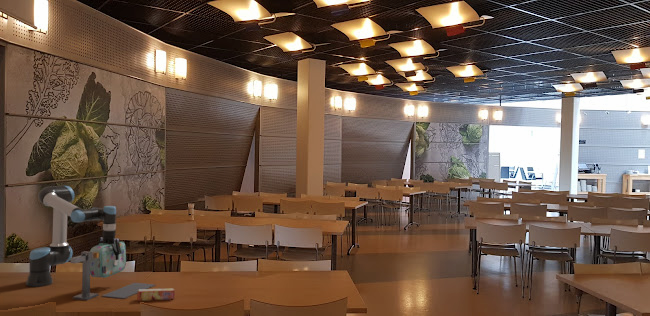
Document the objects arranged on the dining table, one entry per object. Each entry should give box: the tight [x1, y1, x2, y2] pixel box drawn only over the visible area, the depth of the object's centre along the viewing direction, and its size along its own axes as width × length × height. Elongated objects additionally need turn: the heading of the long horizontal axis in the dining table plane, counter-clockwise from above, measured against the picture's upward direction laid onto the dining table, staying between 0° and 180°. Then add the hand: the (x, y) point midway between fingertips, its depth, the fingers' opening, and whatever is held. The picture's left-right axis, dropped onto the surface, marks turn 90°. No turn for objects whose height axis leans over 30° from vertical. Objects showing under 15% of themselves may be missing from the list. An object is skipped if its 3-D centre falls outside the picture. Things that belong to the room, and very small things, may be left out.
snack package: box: [136, 288, 176, 302], centre depth 289 cm, size 21×7×7 cm, turn 104°
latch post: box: [72, 250, 100, 301], centre depth 290 cm, size 10×10×28 cm
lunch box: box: [89, 241, 127, 279], centre depth 310 cm, size 27×10×21 cm, turn 168°
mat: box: [101, 282, 156, 300], centre depth 306 cm, size 16×32×1 cm, turn 166°
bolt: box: [70, 252, 99, 264], centre depth 288 cm, size 6×18×3 cm, turn 166°
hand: (108, 264), depth 310 cm, fingers closed on lunch box, 10 cm apart
